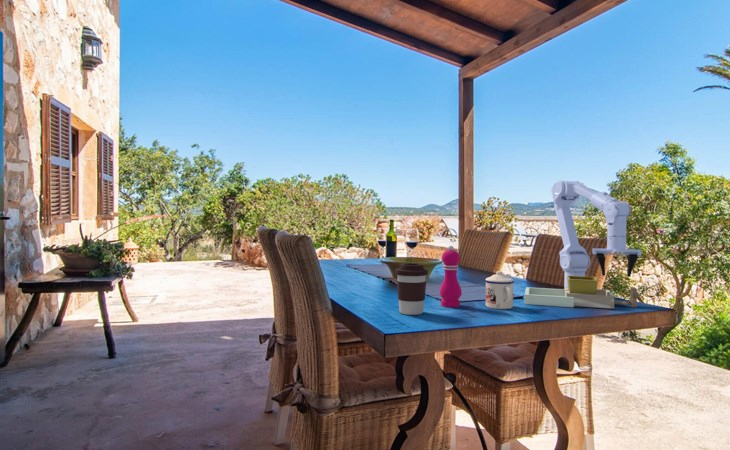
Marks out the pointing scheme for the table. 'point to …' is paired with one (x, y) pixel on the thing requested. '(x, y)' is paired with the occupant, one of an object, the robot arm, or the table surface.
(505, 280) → the teacup with lid
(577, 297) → the carrier frame
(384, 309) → the table surface
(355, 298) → the table surface
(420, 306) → the coffee cup
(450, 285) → the pepper mill
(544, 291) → the tray
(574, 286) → the flower pot
